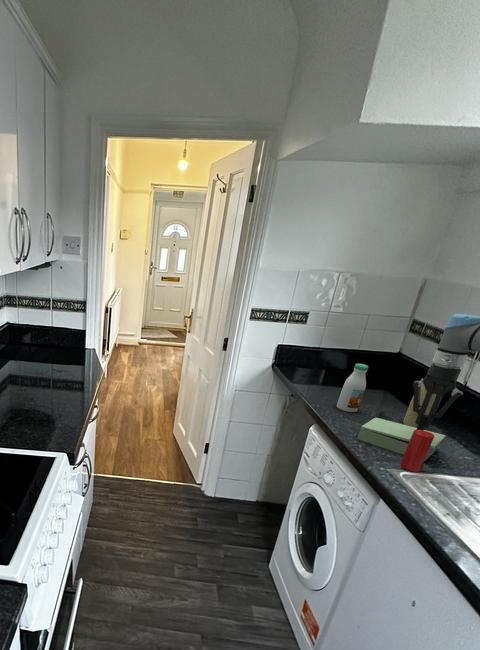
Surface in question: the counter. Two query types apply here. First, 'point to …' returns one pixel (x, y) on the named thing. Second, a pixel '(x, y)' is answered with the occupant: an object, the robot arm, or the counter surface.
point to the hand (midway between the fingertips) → (418, 433)
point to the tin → (417, 450)
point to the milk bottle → (353, 389)
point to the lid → (397, 430)
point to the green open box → (388, 442)
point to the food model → (412, 415)
